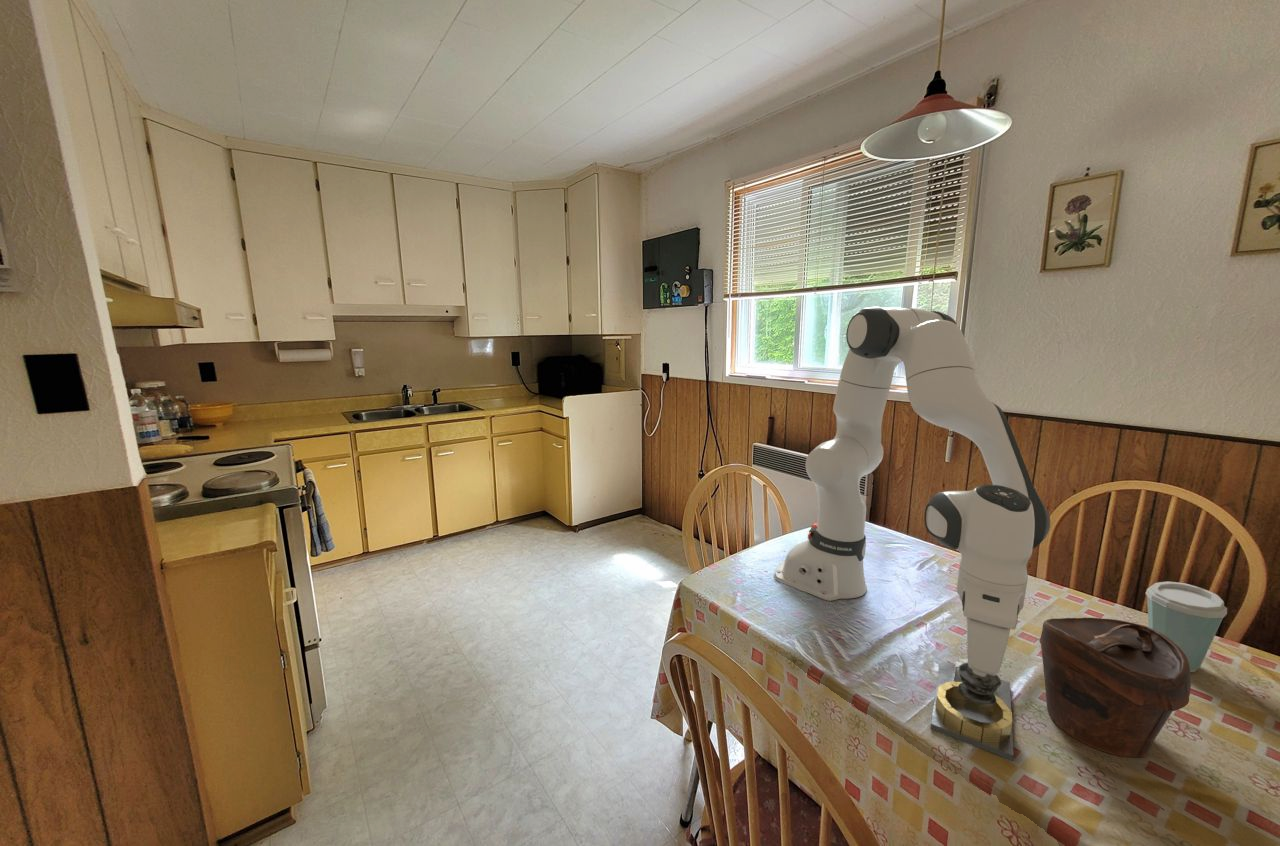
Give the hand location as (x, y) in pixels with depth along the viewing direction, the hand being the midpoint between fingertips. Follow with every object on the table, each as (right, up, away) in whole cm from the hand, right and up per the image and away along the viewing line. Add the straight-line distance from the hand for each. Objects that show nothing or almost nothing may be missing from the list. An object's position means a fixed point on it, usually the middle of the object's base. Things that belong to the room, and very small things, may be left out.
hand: (979, 664), depth 82 cm
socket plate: (+2, -10, +5) cm, 11 cm away
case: (+20, -11, +1) cm, 23 cm away
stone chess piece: (0, -6, +1) cm, 6 cm away
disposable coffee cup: (+49, -7, +16) cm, 52 cm away
